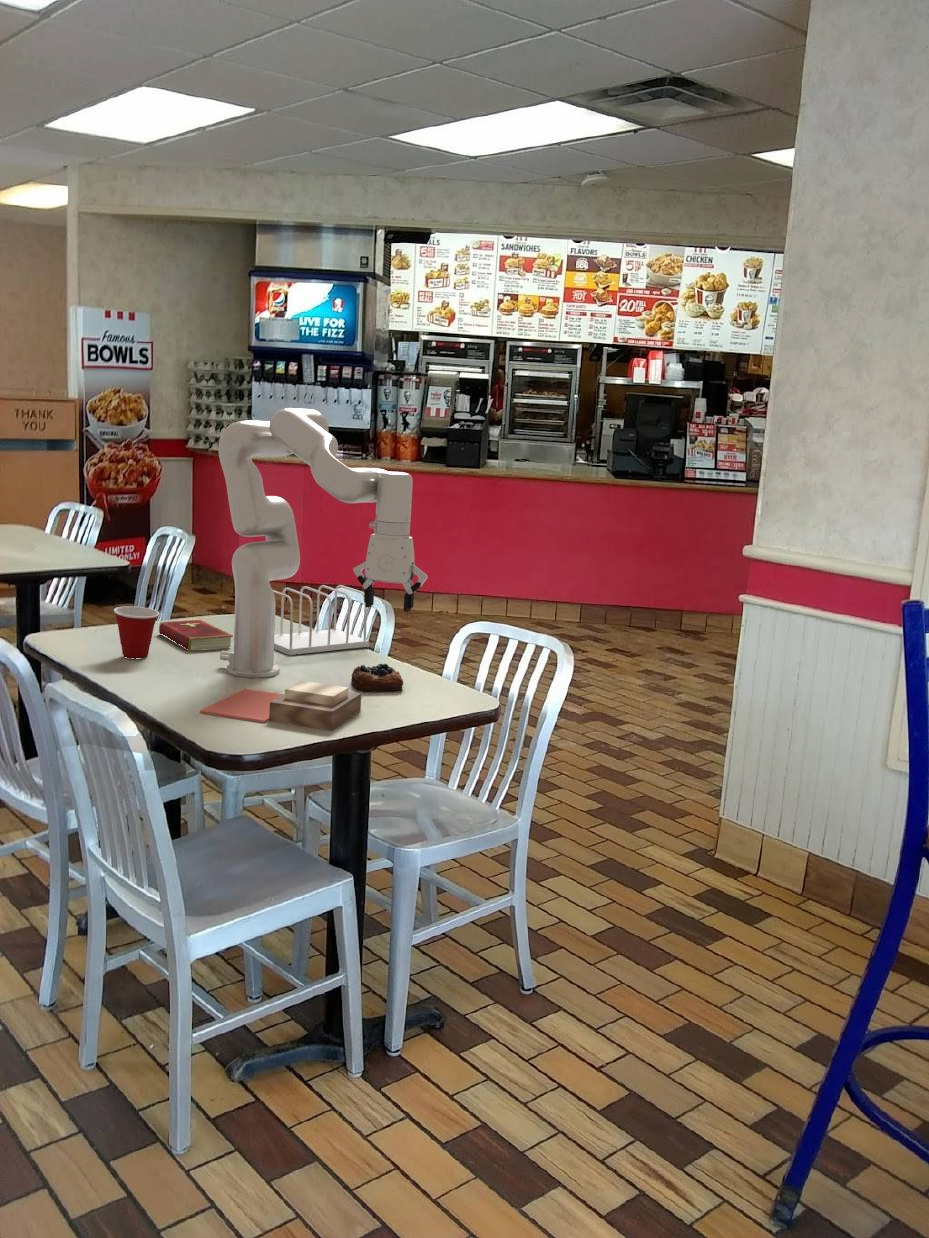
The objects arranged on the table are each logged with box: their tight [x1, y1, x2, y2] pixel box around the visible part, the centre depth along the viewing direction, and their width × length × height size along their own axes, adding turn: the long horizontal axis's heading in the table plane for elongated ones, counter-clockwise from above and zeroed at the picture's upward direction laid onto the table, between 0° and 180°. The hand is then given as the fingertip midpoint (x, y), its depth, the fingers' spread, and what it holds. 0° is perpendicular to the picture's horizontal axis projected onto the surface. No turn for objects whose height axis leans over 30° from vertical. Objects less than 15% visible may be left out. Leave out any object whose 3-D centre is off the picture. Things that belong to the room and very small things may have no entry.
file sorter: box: [272, 584, 370, 656], centre depth 291 cm, size 25×17×16 cm
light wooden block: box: [284, 680, 349, 706], centre depth 227 cm, size 11×8×2 cm
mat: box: [199, 688, 285, 723], centre depth 231 cm, size 15×20×1 cm
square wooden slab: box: [268, 690, 362, 731], centre depth 227 cm, size 14×16×4 cm
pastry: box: [350, 663, 404, 693], centre depth 254 cm, size 11×12×6 cm
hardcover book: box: [158, 619, 234, 652], centre depth 286 cm, size 12×21×4 cm, turn 36°
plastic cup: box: [113, 605, 160, 659], centre depth 264 cm, size 11×11×12 cm
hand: (388, 608), depth 234 cm, fingers open, 8 cm apart
